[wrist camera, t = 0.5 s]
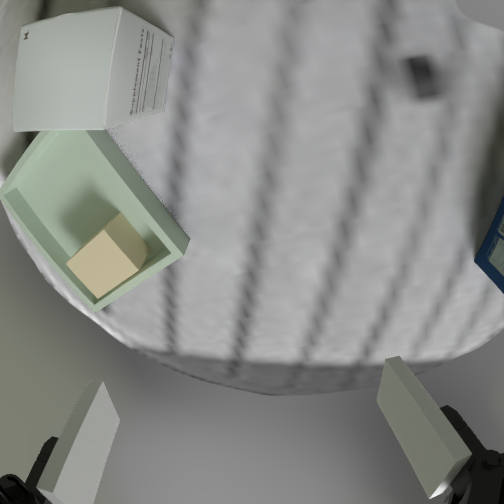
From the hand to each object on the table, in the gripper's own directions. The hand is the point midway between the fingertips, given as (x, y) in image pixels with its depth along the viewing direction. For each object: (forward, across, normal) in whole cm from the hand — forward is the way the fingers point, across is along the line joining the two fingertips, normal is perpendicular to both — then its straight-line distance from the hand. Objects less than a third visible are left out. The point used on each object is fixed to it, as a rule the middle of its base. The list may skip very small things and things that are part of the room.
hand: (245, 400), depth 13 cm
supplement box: (+23, -10, +21) cm, 33 cm away
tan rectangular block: (+26, -15, +1) cm, 31 cm away
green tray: (+26, -18, +6) cm, 33 cm away
